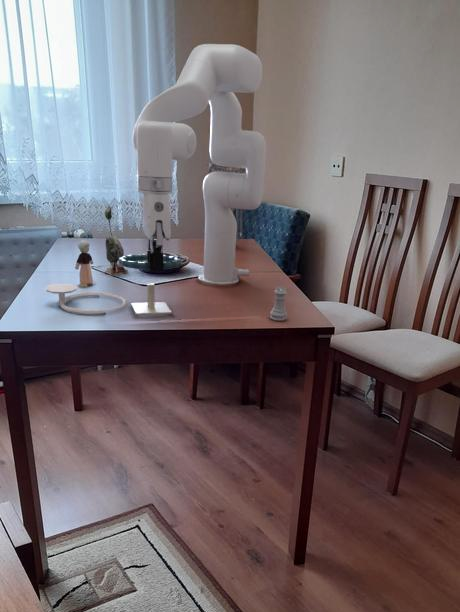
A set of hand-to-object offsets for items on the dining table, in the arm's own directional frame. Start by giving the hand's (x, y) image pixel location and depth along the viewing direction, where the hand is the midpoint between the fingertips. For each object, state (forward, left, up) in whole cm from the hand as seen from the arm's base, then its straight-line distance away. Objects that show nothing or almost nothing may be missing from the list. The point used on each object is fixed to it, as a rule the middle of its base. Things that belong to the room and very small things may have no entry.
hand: (155, 268), depth 130 cm
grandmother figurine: (+14, -35, -13) cm, 40 cm away
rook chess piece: (-31, +3, -13) cm, 34 cm away
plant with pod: (+4, -47, -13) cm, 49 cm away
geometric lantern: (-44, -89, -13) cm, 100 cm away
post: (0, -7, -13) cm, 14 cm away
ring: (0, -7, 0) cm, 7 cm away
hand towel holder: (+15, -15, -13) cm, 25 cm away
